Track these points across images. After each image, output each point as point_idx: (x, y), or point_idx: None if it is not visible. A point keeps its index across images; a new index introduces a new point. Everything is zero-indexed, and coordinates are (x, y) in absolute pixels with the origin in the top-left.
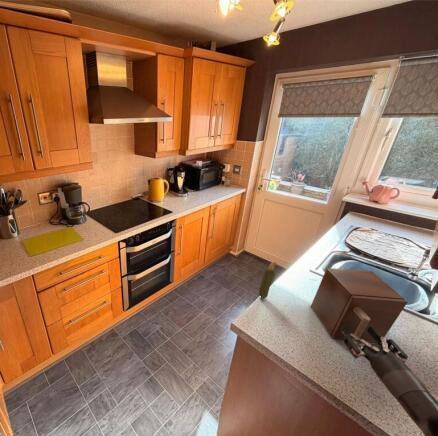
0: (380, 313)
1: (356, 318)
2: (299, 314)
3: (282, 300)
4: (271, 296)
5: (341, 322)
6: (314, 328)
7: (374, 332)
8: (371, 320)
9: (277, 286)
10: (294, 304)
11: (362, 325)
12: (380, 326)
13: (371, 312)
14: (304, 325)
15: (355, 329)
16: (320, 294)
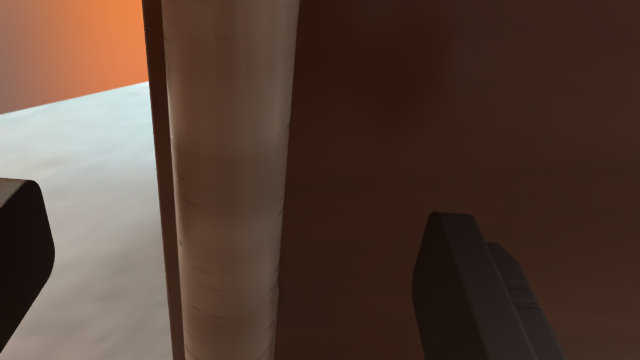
0: (635, 21)
1: (330, 132)
2: (89, 211)
3: (71, 139)
4: (22, 121)
5: (171, 204)
6: (94, 308)
7: (458, 298)
8: (520, 159)
9: (135, 87)
10: (130, 159)
11: (176, 132)
12: (623, 244)
13: (510, 5)
14: None
15: (361, 292)
16: None
